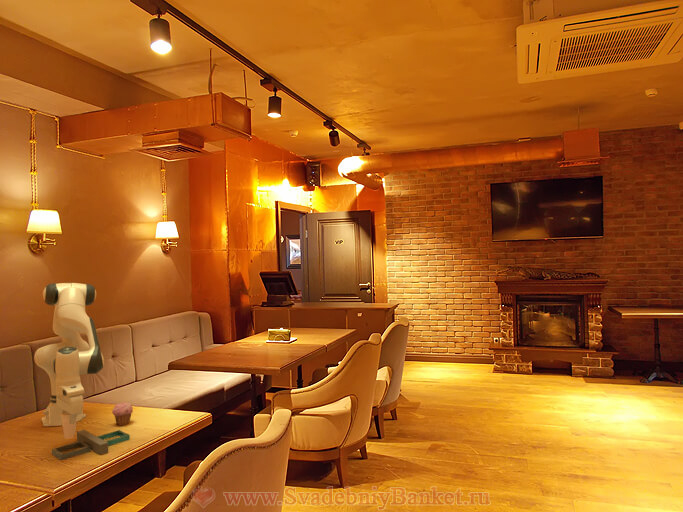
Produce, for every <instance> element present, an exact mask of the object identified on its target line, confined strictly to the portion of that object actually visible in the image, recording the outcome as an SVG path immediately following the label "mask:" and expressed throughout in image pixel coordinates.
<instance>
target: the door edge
mask: <svg viewBox="0 0 683 512" xmlns="http://www.w3.org/2000/svg"><path fill="white" fill-rule="evenodd" d="M97 436H98V435H97ZM97 436H96V435H94V434H93V433H91V432H90V431H87V430H85V429H80V430H78V431H76V442H78V441H82V442H84V443H85V444H87V445H89V446H90V451H91V450H92V451H93V452H95V453H97V454H99V456H102V455H105V454H108V453H109V446H108V442H106V441H107V440H102V439H100V438H98V437H97Z"/></svg>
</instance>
